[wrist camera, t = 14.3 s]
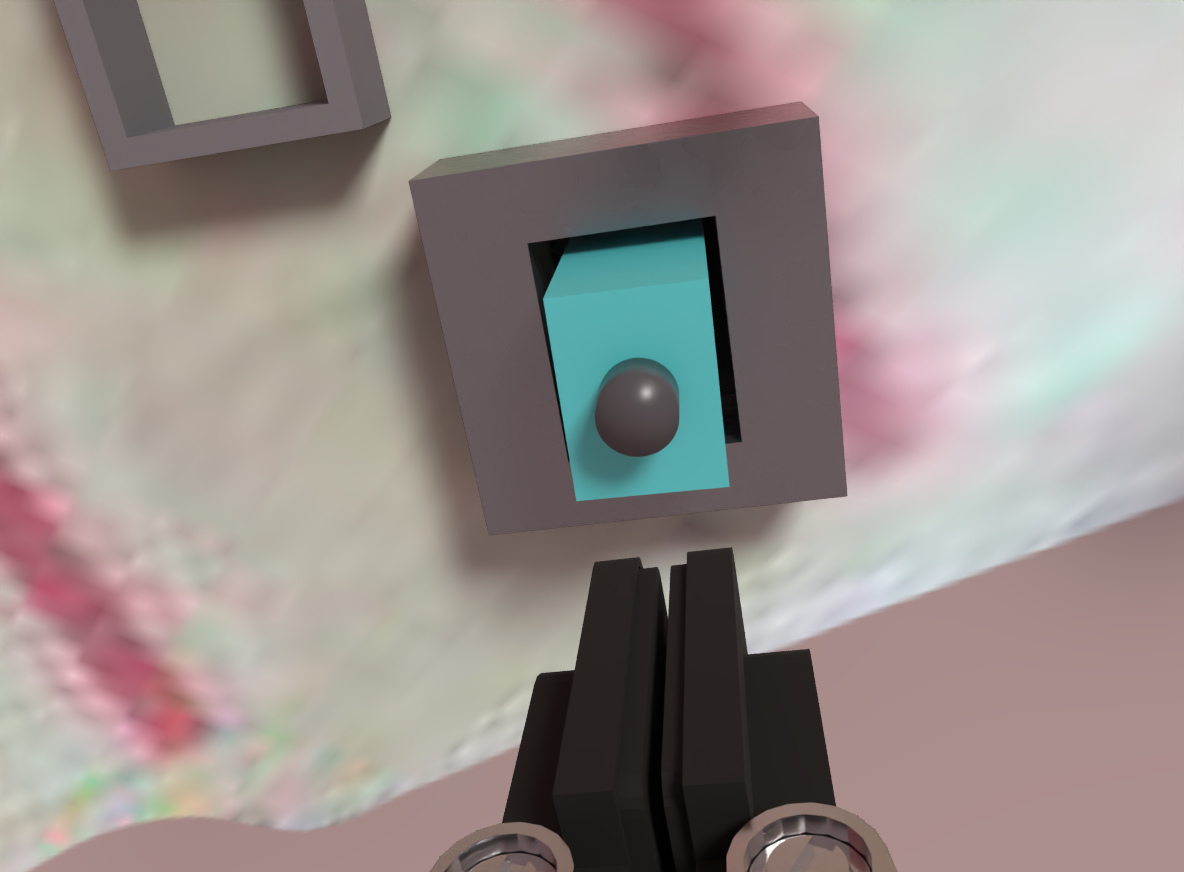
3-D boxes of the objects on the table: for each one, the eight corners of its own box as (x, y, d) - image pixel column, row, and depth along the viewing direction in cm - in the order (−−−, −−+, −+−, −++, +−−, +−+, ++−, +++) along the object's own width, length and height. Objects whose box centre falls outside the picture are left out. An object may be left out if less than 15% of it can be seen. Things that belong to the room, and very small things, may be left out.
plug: (701, 213, 32) (710, 296, 23) (718, 380, 34) (732, 513, 25) (573, 229, 32) (535, 316, 24) (598, 393, 34) (570, 528, 26)
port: (801, 101, 30) (818, 116, 26) (829, 442, 34) (847, 496, 31) (439, 159, 32) (408, 180, 28) (508, 479, 36) (488, 535, 32)
